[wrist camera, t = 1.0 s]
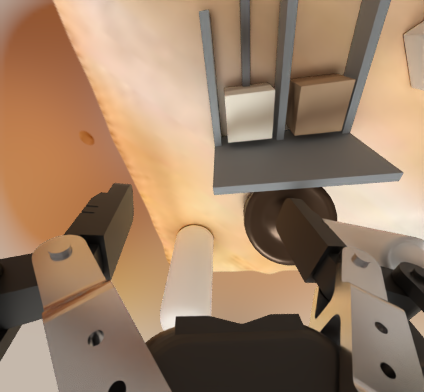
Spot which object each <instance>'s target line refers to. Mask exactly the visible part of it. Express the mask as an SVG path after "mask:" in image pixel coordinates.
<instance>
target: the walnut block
mask: <svg viewBox="0 0 424 392" xmlns="http://www.w3.org/2000/svg"><path fill="white" fill-rule="evenodd" d="M355 80H356V79H352V78H349V77H346V76H343V75H340V74H328V75H321V76H313V77H306V78H298V79H291V80H290V84H289V94H288V103H287V113H286V123H285V124H286V125H287V126H288V128H289V129H290V130H291V132H292V133H293V134H294V136H297V135H307V134H316V133H326V132H335V131H341V130H342V126H343V123H344V119H345V116H346V112H347V109H348V105H349V101H350V98H351V94H352V91H353V87H354V83H355Z"/></svg>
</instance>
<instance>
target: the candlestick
mask: <svg viewBox="0 0 424 392" xmlns="http://www.w3.org/2000/svg"><path fill="white" fill-rule="evenodd" d="M287 198H294V199H302V200H303V201H304V202H305V203H306V204H307V205H308V207H309V208H310V209H311V210H312V211H314V212H315V213H317V214H318V215H319V216H320V217H321V218H322V219H323V220H324V223H326V224H327V225H328V226H329V228H331V229H332V230H333V231H334V232H335V234H336V235H337V236H338V237H339V238H340V239H341V240H342V241H343V242H344V243H345V245H346V246H347V247H354V248H358V249H360V250H362V251H364V252H366V253H368V254H369V255H371V256H372V257H373V258H374V259H375V260H376V261H377V262H378V263H379V265H380V266H383V267H386V268H390V269H393V270H394V269H395V268H396V267H397V266H398V265H399V264H400V263H401V262H409V263H413V264H415V265H418V266H420V267H422V268H424V240H422V239H419V238H416V237H411V236H406V235H401V234H396V233H392V232H387V231H382V230H377V229H372V228H367V227H362V226H357V225H352V224H347V223H342V222H337V213H336V209H335V205H334V203H333V201H332V199H331V197H330V196H329V195H328V193H327V192H326V191H325V189H323V188H322V187H313V188H300V189H287V190H273V191H260V192H253V193H252V195H251V196H250V197H249V198H248V199H247V201H246V203H245V205H244V210H243V214H244V226H245V230H246V234H247V236H248V238H249V240H250V242H251V243H252V245H253V246H254V248H255V249H256V250H257V251H258V252H259V253H260V254H261V255H262V256H264V257H265V258H267V259H269V260H270V261H273V262H276V263H278V264H283V265H295V263H294V262H293V260H292V258H291V256H290V254H289V253H288V251H287V249H286V247H285V245H284V243H283V242H282V240H281V238H280V236H279V234H278V233H277V230H276V220H277V218H278V215H279V213H280V210H281V208H282V205H283V203H284V201H285V200H286V199H287Z"/></svg>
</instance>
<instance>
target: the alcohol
mask: <svg viewBox="0 0 424 392" xmlns="http://www.w3.org/2000/svg"><path fill="white" fill-rule="evenodd" d="M213 243H214V238H213V236H212V234H211V233H210V231H209V230H208V229H206V228H204V227H202V226H198V225H190V226H186V227H184V228H183V229H182V230H180V231H179V232H178V234H177V237H176V241H175V246H174V250H173V255H172V259H171V264H170V269H169V273H168V278H167V282H166V287H165V291H164V296H163V300H162V305H161V310H160V323H161V326H162V328H163V330H164V331H165V330H167V329H169V328H173V327H175V319H176V316H211V302H212V273H213Z"/></svg>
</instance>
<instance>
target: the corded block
mask: <svg viewBox="0 0 424 392" xmlns="http://www.w3.org/2000/svg"><path fill="white" fill-rule="evenodd" d="M240 25H241V64H242V86H236V87H228V88H224V94H225V107H226V120H227V133H228V143H231V142H241V141H251V140H261V139H271V138H272V131H273V116H274V101H275V89H274V88H273V87H272V86H271V85H270V84H269V83H268V82H267V83H259V84H251V85H250V0H240Z"/></svg>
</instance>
